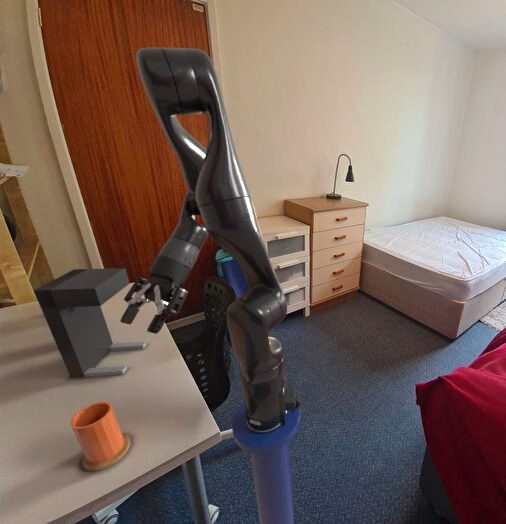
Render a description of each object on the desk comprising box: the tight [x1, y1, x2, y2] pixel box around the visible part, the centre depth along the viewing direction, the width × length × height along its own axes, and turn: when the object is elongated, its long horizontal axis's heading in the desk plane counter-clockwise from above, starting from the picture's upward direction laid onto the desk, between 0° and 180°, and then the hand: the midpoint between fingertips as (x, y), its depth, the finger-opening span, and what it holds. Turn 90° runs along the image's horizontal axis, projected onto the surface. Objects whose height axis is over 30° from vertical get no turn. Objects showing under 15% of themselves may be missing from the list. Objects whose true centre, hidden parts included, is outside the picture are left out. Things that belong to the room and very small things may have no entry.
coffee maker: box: [33, 267, 148, 379], centre depth 79 cm, size 13×13×27 cm
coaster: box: [81, 432, 131, 472], centre depth 58 cm, size 8×8×1 cm
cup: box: [70, 401, 124, 464], centre depth 57 cm, size 6×6×10 cm
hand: (138, 327), depth 60 cm, fingers open, 8 cm apart
